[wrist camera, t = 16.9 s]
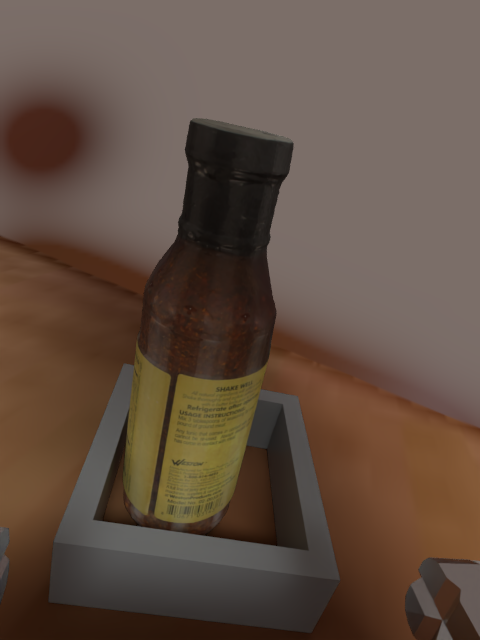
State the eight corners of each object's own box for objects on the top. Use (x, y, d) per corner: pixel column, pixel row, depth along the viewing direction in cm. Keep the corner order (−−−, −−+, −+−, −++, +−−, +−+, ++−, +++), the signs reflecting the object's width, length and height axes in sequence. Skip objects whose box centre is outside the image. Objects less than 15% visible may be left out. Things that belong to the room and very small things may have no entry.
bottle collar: (48, 602, 19) (53, 541, 17) (116, 411, 30) (123, 363, 29) (311, 633, 20) (340, 580, 19) (281, 439, 32) (297, 396, 30)
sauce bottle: (243, 487, 27) (353, 153, 18) (196, 571, 22) (320, 154, 13) (153, 441, 29) (215, 114, 20) (89, 508, 23) (134, 102, 15)
